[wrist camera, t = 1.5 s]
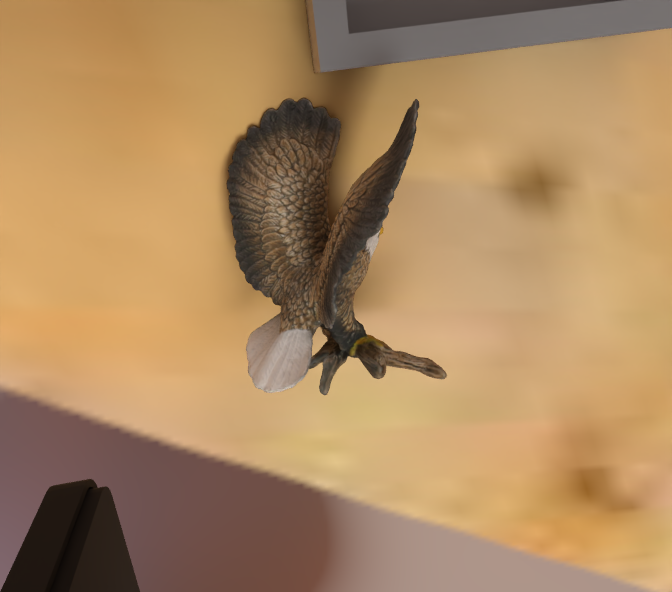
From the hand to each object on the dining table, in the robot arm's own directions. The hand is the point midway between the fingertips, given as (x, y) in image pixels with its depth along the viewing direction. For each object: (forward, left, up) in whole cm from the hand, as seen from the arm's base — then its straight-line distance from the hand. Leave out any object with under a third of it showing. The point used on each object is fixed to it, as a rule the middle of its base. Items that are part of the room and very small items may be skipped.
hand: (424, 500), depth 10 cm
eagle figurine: (0, -1, -16) cm, 16 cm away
